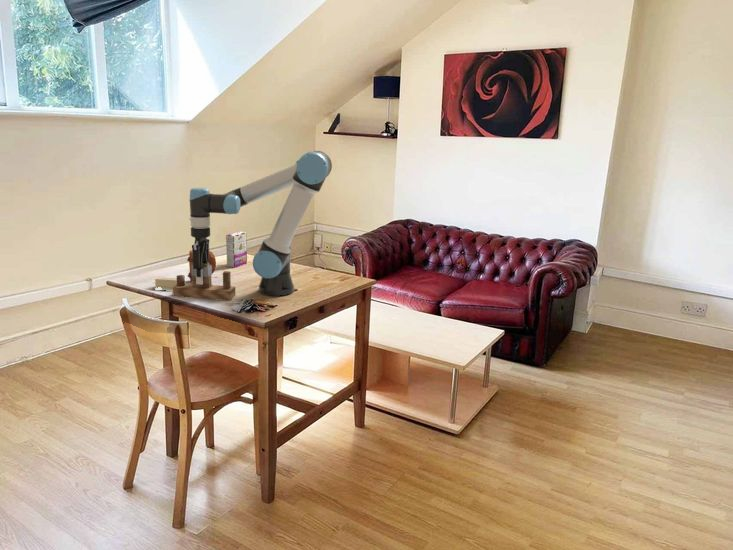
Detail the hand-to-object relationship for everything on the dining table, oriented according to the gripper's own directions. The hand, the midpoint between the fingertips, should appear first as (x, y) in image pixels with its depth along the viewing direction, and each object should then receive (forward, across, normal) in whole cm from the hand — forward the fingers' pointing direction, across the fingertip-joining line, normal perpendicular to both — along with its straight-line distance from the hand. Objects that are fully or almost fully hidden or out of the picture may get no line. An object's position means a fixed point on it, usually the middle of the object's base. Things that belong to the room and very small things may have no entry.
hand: (202, 282), depth 235 cm
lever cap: (-3, 0, 0) cm, 3 cm away
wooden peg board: (+6, 0, +1) cm, 6 cm away
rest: (+6, -8, -18) cm, 21 cm away
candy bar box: (+6, -54, -2) cm, 54 cm away
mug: (+6, -19, -7) cm, 21 cm away
